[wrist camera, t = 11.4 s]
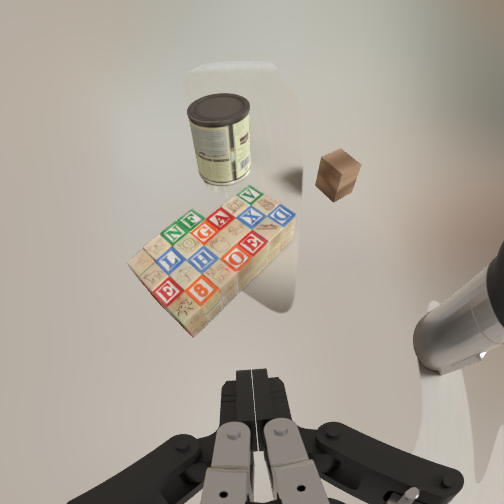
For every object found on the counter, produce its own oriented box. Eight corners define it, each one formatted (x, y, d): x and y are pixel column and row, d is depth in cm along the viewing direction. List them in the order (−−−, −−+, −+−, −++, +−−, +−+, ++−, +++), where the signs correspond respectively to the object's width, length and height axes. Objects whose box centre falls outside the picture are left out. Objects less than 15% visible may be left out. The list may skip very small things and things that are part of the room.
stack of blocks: (293, 239, 44) (237, 200, 49) (298, 214, 39) (235, 174, 44) (192, 338, 36) (140, 282, 41) (181, 325, 31) (124, 261, 36)
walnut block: (351, 192, 50) (361, 164, 44) (333, 202, 49) (342, 174, 43) (333, 176, 52) (340, 148, 46) (315, 185, 51) (321, 156, 45)
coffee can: (204, 151, 57) (195, 93, 45) (253, 152, 56) (252, 92, 44) (193, 185, 51) (179, 122, 39) (248, 187, 51) (246, 122, 39)
